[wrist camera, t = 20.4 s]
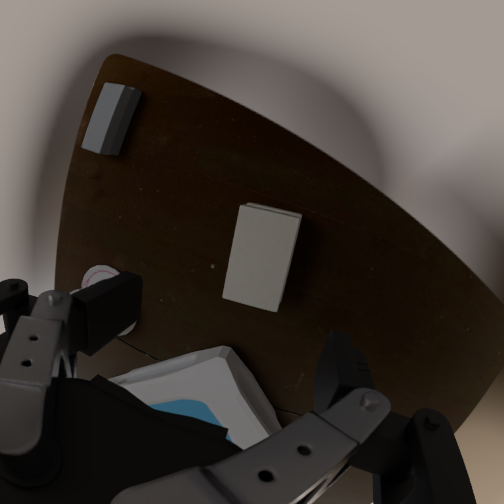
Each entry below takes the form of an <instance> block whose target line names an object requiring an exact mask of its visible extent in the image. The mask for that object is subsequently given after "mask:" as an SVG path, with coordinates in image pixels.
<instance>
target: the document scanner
mask: <svg viewBox="0 0 504 504" xmlns="http://www.w3.org/2000/svg"><path fill="white" fill-rule="evenodd" d="M108 380H110V381H111V382H113V383H115V384H117V385H119V386H121V387H123V388H125V389H127V390H128V391H129V392H131V393H132V394H133V395H135V396H136V397H137V398H139V399H140V400H141V401H143V402H144V403H145V404H147V405H148V406H150V407H151V408H153V409H156V410H160V411H165V412H170V413H175V414H180V415H186V416H191V417H195V418H198V419H200V420H203V421H206V422H209V423H212V424H215V425H219V426H222V427H225V428H228V429H229V430H228V433H227V437H226V439H227V440H229V441H231V442H233V443H234V444H236V445H238V446H239V447H240V448H242V449H243V450H245V449H246V448H248V447H250V446H252V445H254V444H256V443H258V442H260V441H261V440H263V439H265V438H267V437H269V436H270V435H272V434H274V433H276V432H277V431H279V430H281V429H282V428H281V426H280V424H279V422H278V420H277V418H276V413H275V410H274V409H273V407H272V405H271V404H270V402H269V401H268V399H267V397H266V396H265V394H264V393H263V391H262V389H261V388H260V386H259V384H258V383H257V381H256V379H255V378H254V376H253V374H252V373H251V372H250V371H249V369H248V368H247V367H246V366H245V364H244V363H243V362H242V361H241V359H240V358H239V357H238V356H237V354H236V353H235V352H234V351H233V349H232V348H230V347H227V346H224V345H223V346H219V347H215V348H210V349H206V350H201V351H196V352H192V353H188V354H185V355H182V356H179V357H175V358H172V359H169V360H165V361H162V362H159V363H155V364H152V365H148V366H145V367H141V368H138V369H134V370H132V371H130V372H129V373H127V374H124V375H120V376H117V377H114V378H110V379H108Z"/></svg>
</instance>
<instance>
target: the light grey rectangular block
mask: <svg viewBox="0 0 504 504" xmlns="http://www.w3.org/2000/svg"><path fill="white" fill-rule="evenodd" d="M299 222H300V217H299V216H295V215H291V214H287V213H282V212H278V211H274V210H269V209H265V208H260V207H256V206H251V205H247V204H245V205H240V209H239V214H238V219H237V224H236V229H235V234H234V239H233V244H232V250H231V255H230V260H229V265H228V270H227V275H226V281H225V286H224V291H223V297H222V298H225V299H228V300H232V301H236V302H239V303H243V304H247V305H250V306H254V307H258V308H262V309H265V310H269V311H273V312H277V310H278V307H279V303H280V299H281V295H282V291H283V287H284V284H285V280H286V276H287V272H288V268H289V264H290V259H291V255H292V251H293V247H294V243H295V239H296V234H297V230H298V226H299Z"/></svg>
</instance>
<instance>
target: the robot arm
mask: <svg viewBox="0 0 504 504" xmlns="http://www.w3.org/2000/svg"><path fill="white" fill-rule="evenodd" d="M142 288H143V279H142V277H141V276H139V275H137V274H134V273H131V272H128V271H124V272H122V273H120V274H118V275H116V276H113V277H111V278H108V279H103V280H101V281H98V282H96V283H95V284H92V285H90V286H89V287H85V288H83V289H81V290H79V291H77V292H75V293H72V294H69V293H67V292H65V291H61V290H49V291H45V292H43V293H41V294H40V295H39V297H35V296H32V295H29V294H28V284H27V283H26V282H25V281H23V280H21V279H8V280H4V281H2V282H0V315H2V314H3V320H4V325H5V330H6V332H4V333H2V334H1V335H0V504H311V503H313V502H314V501H315V500H316V499H317V498H318V497H319V496H320V495H321V494H322V493H323V492H325V491H326V490H327V489H328V488H329V487H330V486H331V485H332V484H333V483H334V482H335V481H336V480H338V479H339V478H340V477H341V476H342V475H343V474H344V473H345V472H346V471H347V470H348V469H349V468H350V467H351V466H353V467H356V468H359V469H361V470H364V471H367V472H370V473H373V504H476V500H475V496H474V493H473V490H472V486H471V483H470V479H469V476H468V473H467V470H466V467H465V464H464V461H463V458H462V455H461V452H460V450H459V447H458V444H457V441H456V439H455V436H454V434H453V431H452V428H451V426H450V423H449V421H448V420H447V418H446V417H445V416H444V415H442V414H441V413H439V412H438V411H435V410H433V409H428V408H423V409H419V410H417V411H416V412H415V414H414V415H413V417H412V418H409V417H406V416H403V415H400V414H397V413H394V412H392V411H390V410H391V404H390V402H389V400H388V399H387V398H386V397H385V396H384V395H383V394H382V393H380V392H378V391H376V390H375V388H374V384H373V380H372V377H371V373H370V372H369V371H370V370H369V366H368V363H367V359H366V356H365V355H364V354H363V353H362V352H361V351H360V349H359V348H354V347H352V342H351V338H350V335H349V334H346V333H342V332H337V331H333V330H331V331H330V333H329V335H328V337H327V340H326V343H325V345H324V348H323V351H322V353H321V356H320V359H319V361H318V364H317V367H316V371H315V377H314V411H310V412H308V413H307V414H305V415H303V416H302V417H300V418H299V419H297V420H296V421H294V422H292V423H291V424H289V425H287V426H286V427H284V428H282V429H281V430H279V431H277V432H276V433H274V434H272V435H270V436H269V437H267V438H265V439H263V440H261V441H260V442H258V443H256V444H254V445H252V446H250V447H248V448H246V449H245V450H243V449H242V448H240V447H239V446H238V445H236V444H234V443H233V442H231V441H229V440H227V439H226V437H227V433H228V430H229V429H228V428H225V427H222V426H219V425H215V424H212V423H209V422H206V421H203V420H200V419H198V418H195V417H191V416H186V415H180V414H175V413H170V412H165V411H160V410H156V409H153V408H151V407H150V406H148V405H147V404H145V403H144V402H143V401H141V400H140V399H139V398H137V397H136V396H135V395H133V394H132V393H131V392H129V391H128V390H127V389H125V388H123V387H121V386H119V385H117V384H115V383H113V382H111V381H110V380H108V379H106V378H104V377H102V376H100V375H96V376H95V377H94V378H93V379H92V380H91V381H88V380H84V379H78V378H76V373H77V352H78V351H81V352H83V353H84V354H86V355H88V356H90V357H91V356H92V355H93V354H95V353H96V352H97V351H99V350H100V349H101V348H102V347H104V346H105V345H106V344H108V343H109V342H110V341H112V340H113V339H114V338H115V337H117V336H118V335H119V334H121V333H122V332H123V331H125V330H126V329H127V328H128V327H130V326H131V325H132V324H134V323H135V322H136V321H137V320H138V318H139V316H140V312H141V302H142Z"/></svg>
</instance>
